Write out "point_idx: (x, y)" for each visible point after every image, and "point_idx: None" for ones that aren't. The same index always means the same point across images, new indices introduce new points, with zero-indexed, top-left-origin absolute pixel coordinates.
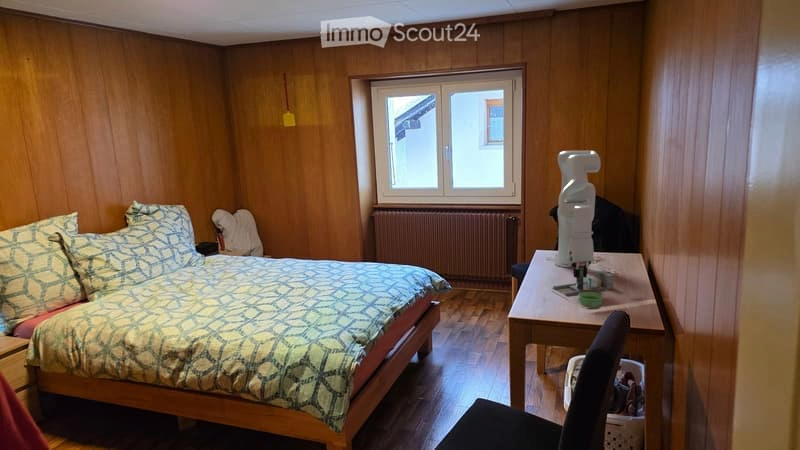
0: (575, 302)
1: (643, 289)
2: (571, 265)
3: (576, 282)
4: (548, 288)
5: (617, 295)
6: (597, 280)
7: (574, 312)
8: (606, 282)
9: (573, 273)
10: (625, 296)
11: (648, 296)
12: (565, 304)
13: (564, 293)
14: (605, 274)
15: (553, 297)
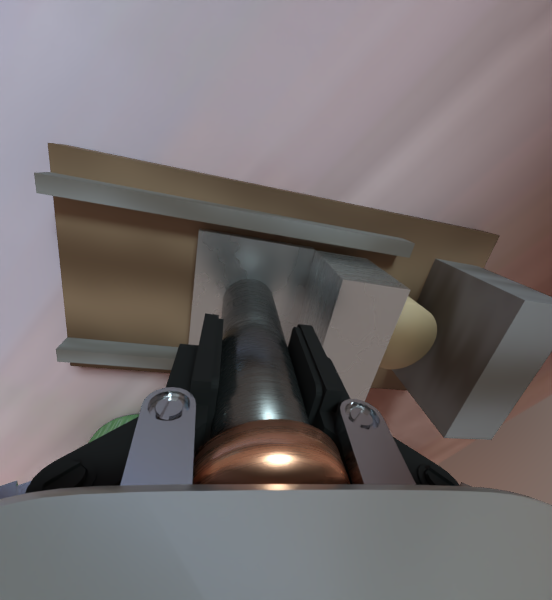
0: (104, 392)
1: (542, 388)
2: (80, 461)
3: (224, 309)
4: (82, 50)
5: (380, 399)
6: (400, 348)
7: (12, 479)
8: (414, 387)
9: (177, 352)
10: (394, 419)
11: (460, 448)
12: (23, 394)
13: (83, 310)
14: (465, 410)
15: (5, 271)
